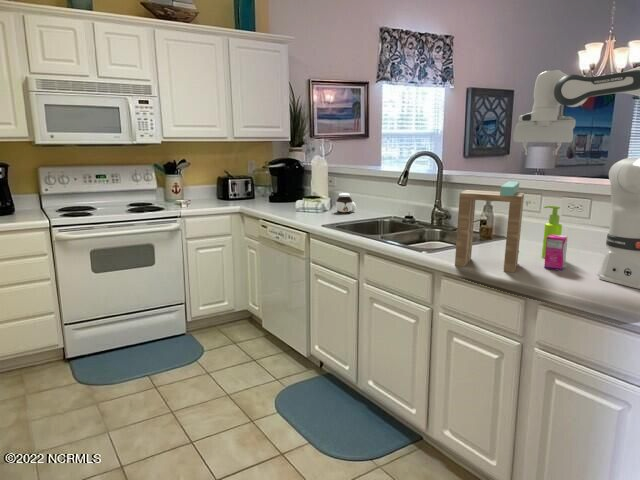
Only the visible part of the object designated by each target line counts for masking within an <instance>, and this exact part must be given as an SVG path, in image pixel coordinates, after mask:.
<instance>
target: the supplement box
mask: <svg viewBox="0 0 640 480" xmlns="http://www.w3.org/2000/svg"><path fill="white" fill-rule="evenodd" d="M567 247H568V235H561V236H560V235H550V236H548V237H547V240H546V252H545V259H544V267H543V268H544V269H549V270H555V271H562V270H563V269H565V268H566V262H567V261H566V260H567V249H568V248H567Z"/></svg>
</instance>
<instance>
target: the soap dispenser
mask: <svg viewBox="0 0 640 480" xmlns="http://www.w3.org/2000/svg"><path fill="white" fill-rule="evenodd" d="M543 208H544V209H552V213H551V214H550V215H549V216H548V218H549V219H548V223H547V222H546V223H545V224H544V230H543V240H542V241H543V243H542V248H541V249H542V250H541V258H542V259H544V260H545V252H546V240H547V237H548V236H550V235H560V236H562V230H563V225H562V224H560V215H559V214H558V211H559V210H560V209H561V207H560V206H556V205H548V206H543Z"/></svg>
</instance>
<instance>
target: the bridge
mask: <svg viewBox="0 0 640 480" xmlns="http://www.w3.org/2000/svg"><path fill="white" fill-rule="evenodd" d="M458 199H459V201H458V213H457V214H458V215H457V216H458V217H457V229H456V243H455V244H456V245H455V257H454V259H455V260H454V266H456V267H463V268H465V267H466V266H467V265H468V264H469V262H470V261H471V259H472V250H473V249H472V248H473V237H474V235H473V234H474V223H475V210H476V201H486V202H501V203H502V202H503V203H504V202H505V203H509V205H508V206H509V207H508V217H507V218H508V219H507V229H506V240H505V252H504V261H503V262H504V264H503V272H507V273H515V272H516V269H517V266H518V261H519V250H520V239H521V229H522V219H523V209H524V199H525V192H519V191H517V192H516V193H515V194H514V195H513V196H502V195H500V190H499V191H497V190H496V191H495V190H494V191H493V190H492V191H491V190H478V189H465V190H464V191H461V192H460V193H459V198H458Z"/></svg>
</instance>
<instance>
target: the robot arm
mask: <svg viewBox="0 0 640 480" xmlns="http://www.w3.org/2000/svg"><path fill="white" fill-rule="evenodd" d="M534 83H535V84H534V89H533V104H532V110H531V112H527V113H524V114H522V115H519V116H518V123H516V125H515V127H514V131H513V138H512V139H513V142H514V143H522V147H523V149H524V151H525V152H524V155H525V156H526V155H530V152H531V150H530V149H527V145H528V143H557V144H556V146H557V148H556V149H554V150H552V155H553V156H557V155H558V151H559V150H560V148H561V147H562V144H563V143H569V144H570V143H572V141H573V139H574V129H575V128H576V124H577V121H576V119H575V118H574V117H572V116H559V109H560V106H566V107H570V108H576V107H579V106H582V105H583V104H585V103H586V102H587V101H588V99H589V98H592V97H598V96H605V95H612V94H628V95H632V96H635V97H638V98H639V97H640V66H638V67H635V68H631V69H628V70H625V71H622V72H617V73H610V74H602V75H596V76H583V75H579V74H566V73H564V72H563V71H561V70H560V69H549V70H545V71H542V72H540V73H539V74H538V75H537V76H536V80H535V82H534ZM608 178H609V179H608V180H609V183H610V200H611V214H610V215H611V216H610V224H609V231H608V233H607V235H606V240H605V241H606V242H605V244H606V249H605V253H604V257H603V260H602V263H601V266H600V269H599V270H598V272H597V275H598V276H599V279H600V280H602V281H607V282H611V283H613V284H618V285H622V286H626V287H630V288H634V289H638V290H640V157H634V158H633V157H627V158H623V159H620V160H619V161H617V162H615V163H613V165H612V166H611V167H610V168H609V171H608Z"/></svg>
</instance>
